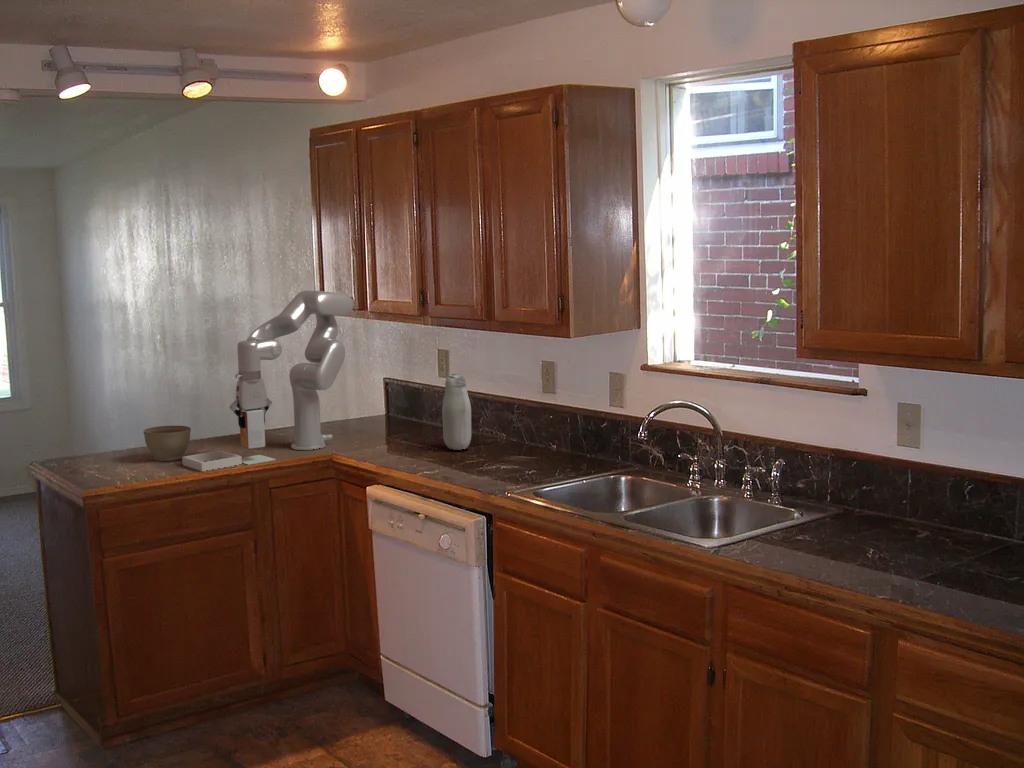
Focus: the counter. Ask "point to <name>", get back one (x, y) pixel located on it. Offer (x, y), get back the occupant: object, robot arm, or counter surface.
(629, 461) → the counter surface
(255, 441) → the small box
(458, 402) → the glass bottle
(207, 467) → the bin
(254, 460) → the pad
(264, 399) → the robot arm
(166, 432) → the planter bowl
